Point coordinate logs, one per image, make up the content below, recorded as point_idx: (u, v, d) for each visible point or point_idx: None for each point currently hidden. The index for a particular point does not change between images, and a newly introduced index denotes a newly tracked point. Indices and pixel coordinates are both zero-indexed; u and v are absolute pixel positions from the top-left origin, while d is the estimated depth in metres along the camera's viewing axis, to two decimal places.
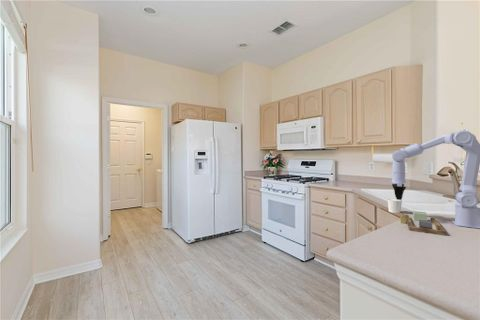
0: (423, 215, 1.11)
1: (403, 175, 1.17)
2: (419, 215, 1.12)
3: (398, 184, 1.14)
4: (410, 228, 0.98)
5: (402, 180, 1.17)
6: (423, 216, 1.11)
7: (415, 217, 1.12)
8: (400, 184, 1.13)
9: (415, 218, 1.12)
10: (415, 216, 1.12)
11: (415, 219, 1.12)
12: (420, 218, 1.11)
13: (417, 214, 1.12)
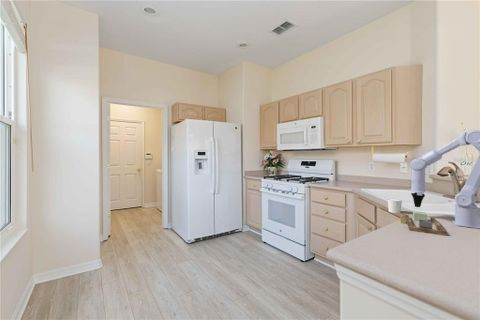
0: (423, 215, 1.11)
1: (423, 184, 1.17)
2: (419, 215, 1.12)
3: (418, 193, 1.14)
4: (410, 228, 0.98)
5: (422, 189, 1.17)
6: (423, 216, 1.11)
7: (415, 217, 1.12)
8: (420, 193, 1.14)
9: (415, 218, 1.12)
10: (415, 216, 1.12)
11: (415, 219, 1.12)
12: (420, 218, 1.11)
13: (417, 214, 1.12)
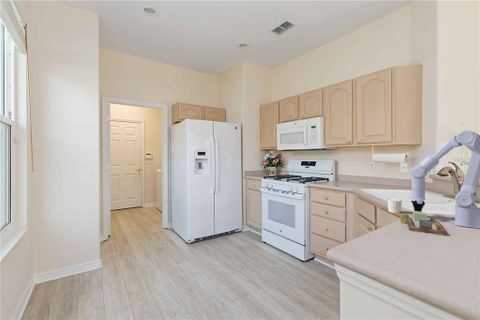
0: (423, 215, 1.11)
1: (423, 192, 1.17)
2: (419, 215, 1.12)
3: (418, 201, 1.14)
4: (410, 228, 0.98)
5: (422, 197, 1.17)
6: (423, 216, 1.11)
7: (415, 217, 1.12)
8: (420, 201, 1.13)
9: (415, 218, 1.12)
10: (415, 216, 1.12)
11: (415, 219, 1.12)
12: (420, 218, 1.11)
13: (417, 214, 1.12)
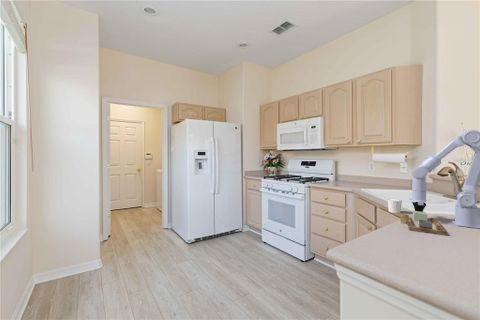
0: (423, 215, 1.11)
1: (424, 193, 1.14)
2: (419, 215, 1.11)
3: (419, 203, 1.11)
4: (410, 228, 0.98)
5: (423, 198, 1.14)
6: (423, 216, 1.11)
7: (415, 217, 1.12)
8: (421, 203, 1.10)
9: (415, 218, 1.12)
10: (415, 216, 1.12)
11: (415, 219, 1.12)
12: (420, 218, 1.11)
13: (417, 214, 1.12)
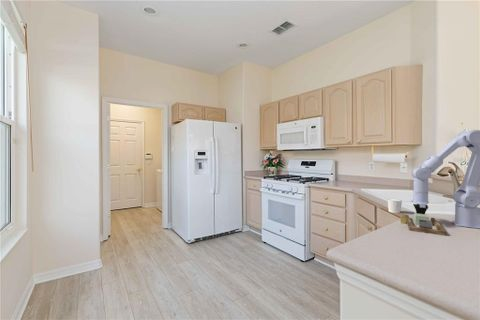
0: (425, 218, 1.06)
1: (426, 195, 1.09)
2: (421, 218, 1.06)
3: (421, 205, 1.06)
4: (410, 228, 0.98)
5: (425, 200, 1.09)
6: (425, 219, 1.06)
7: (417, 220, 1.07)
8: (423, 205, 1.05)
9: (417, 221, 1.07)
10: (417, 219, 1.07)
11: (417, 222, 1.07)
12: None
13: (419, 217, 1.07)
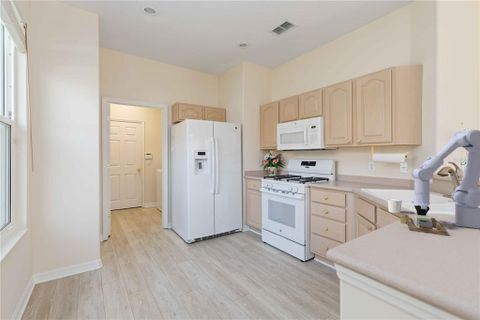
0: (426, 219, 1.03)
1: (427, 196, 1.06)
2: (422, 219, 1.04)
3: (422, 206, 1.03)
4: (410, 228, 0.98)
5: (426, 201, 1.06)
6: None
7: (418, 222, 1.04)
8: (425, 207, 1.02)
9: (418, 223, 1.04)
10: (418, 220, 1.04)
11: (418, 224, 1.05)
12: None
13: (420, 218, 1.04)
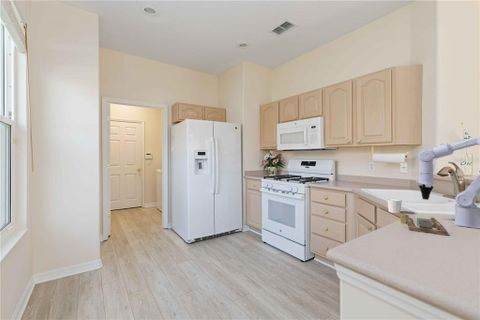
0: None
1: (431, 175, 1.14)
2: None
3: (427, 185, 1.10)
4: (410, 228, 0.98)
5: (430, 180, 1.14)
6: None
7: (418, 222, 1.04)
8: (429, 185, 1.10)
9: (418, 223, 1.04)
10: (418, 221, 1.04)
11: (418, 224, 1.04)
12: None
13: (420, 219, 1.04)
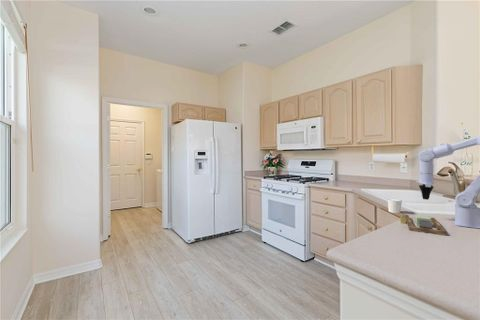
0: None
1: (431, 175, 1.14)
2: None
3: (427, 185, 1.11)
4: (410, 228, 0.98)
5: (430, 180, 1.14)
6: None
7: (418, 222, 1.04)
8: (429, 185, 1.10)
9: (418, 223, 1.04)
10: (418, 221, 1.04)
11: (418, 224, 1.04)
12: None
13: (420, 219, 1.04)
